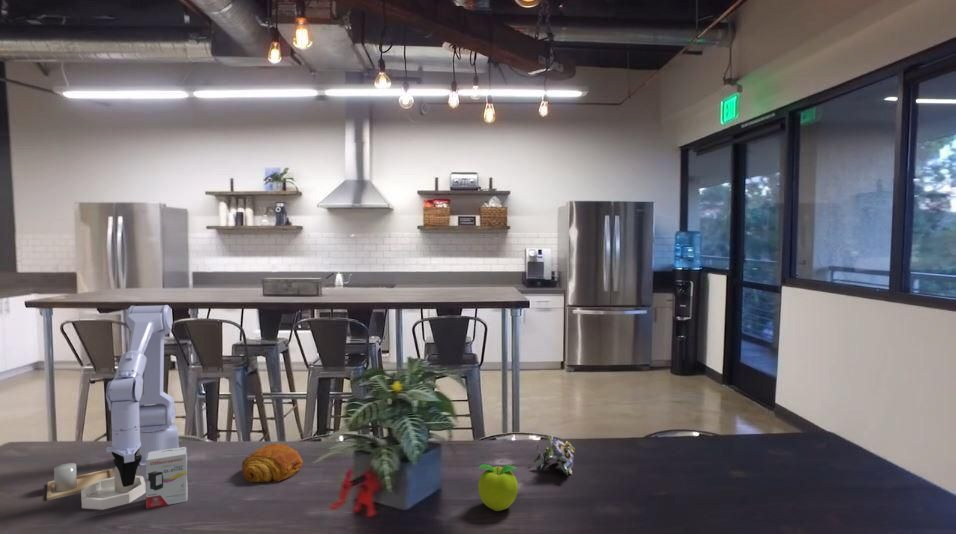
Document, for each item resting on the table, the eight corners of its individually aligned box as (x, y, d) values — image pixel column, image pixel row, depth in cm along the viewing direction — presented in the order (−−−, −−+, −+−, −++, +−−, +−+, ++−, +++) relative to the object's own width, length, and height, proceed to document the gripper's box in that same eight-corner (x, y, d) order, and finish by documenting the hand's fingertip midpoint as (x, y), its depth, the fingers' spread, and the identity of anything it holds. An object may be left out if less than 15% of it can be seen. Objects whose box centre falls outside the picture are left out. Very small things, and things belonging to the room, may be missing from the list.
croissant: (232, 487, 141) (228, 458, 140) (275, 456, 155) (271, 431, 154) (275, 495, 135) (271, 466, 134) (315, 463, 150) (312, 437, 148)
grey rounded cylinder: (136, 482, 135) (135, 461, 134) (136, 489, 131) (135, 467, 131) (115, 486, 132) (114, 465, 132) (114, 494, 129) (113, 472, 128)
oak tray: (112, 471, 144) (112, 468, 144) (115, 486, 136) (115, 482, 136) (47, 485, 136) (47, 481, 136) (46, 502, 128) (46, 497, 128)
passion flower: (568, 493, 145) (577, 469, 138) (528, 483, 146) (535, 459, 139) (571, 456, 154) (579, 432, 146) (533, 448, 155) (540, 423, 148)
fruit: (478, 498, 131) (478, 457, 130) (516, 498, 131) (516, 458, 130) (476, 517, 122) (477, 474, 121) (518, 518, 122) (518, 475, 121)
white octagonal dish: (141, 481, 139) (141, 471, 139) (147, 499, 129) (147, 489, 129) (80, 494, 131) (80, 484, 131) (82, 516, 121) (82, 504, 121)
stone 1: (76, 482, 137) (76, 461, 137) (77, 488, 134) (76, 467, 133) (54, 487, 134) (54, 465, 134) (54, 493, 131) (53, 472, 131)
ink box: (145, 509, 125) (144, 459, 124) (147, 500, 129) (145, 452, 128) (187, 501, 128) (186, 453, 128) (187, 493, 133) (186, 446, 132)
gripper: (104, 422, 134) (105, 475, 135) (107, 439, 123) (109, 497, 124) (137, 416, 139) (138, 468, 139) (144, 432, 127) (145, 489, 128)
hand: (127, 481), depth 132 cm, fingers closed on grey rounded cylinder, 4 cm apart
